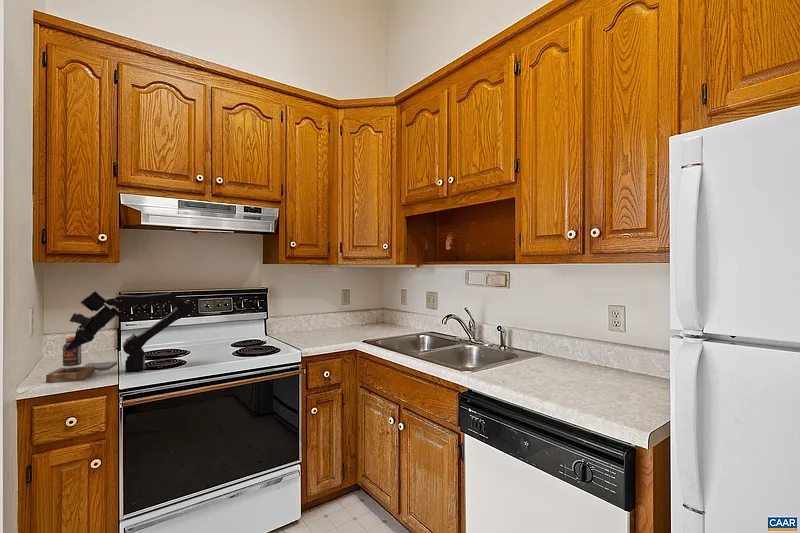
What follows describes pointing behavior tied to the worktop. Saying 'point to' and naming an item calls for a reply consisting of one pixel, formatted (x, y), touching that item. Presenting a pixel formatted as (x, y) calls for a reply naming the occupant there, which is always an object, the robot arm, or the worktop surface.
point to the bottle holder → (70, 374)
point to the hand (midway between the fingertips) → (67, 348)
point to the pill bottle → (71, 354)
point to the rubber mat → (102, 365)
